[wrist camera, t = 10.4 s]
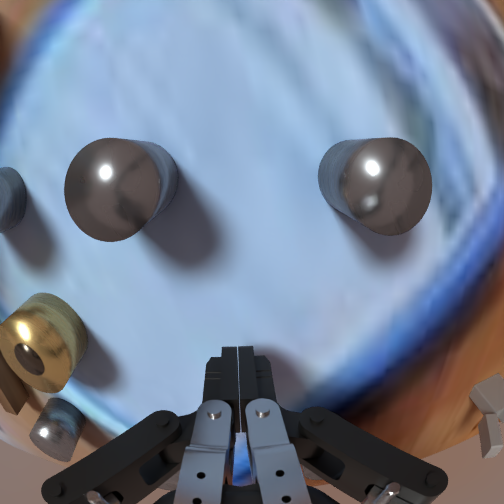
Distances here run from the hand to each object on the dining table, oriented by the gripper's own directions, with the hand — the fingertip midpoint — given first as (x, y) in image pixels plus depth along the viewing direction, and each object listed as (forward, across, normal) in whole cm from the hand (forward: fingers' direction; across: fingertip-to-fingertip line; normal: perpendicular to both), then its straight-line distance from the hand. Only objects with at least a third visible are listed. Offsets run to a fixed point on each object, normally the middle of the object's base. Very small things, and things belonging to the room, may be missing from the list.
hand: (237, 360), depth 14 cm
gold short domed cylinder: (+2, +12, 0) cm, 12 cm away
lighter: (+2, -23, +10) cm, 25 cm away
